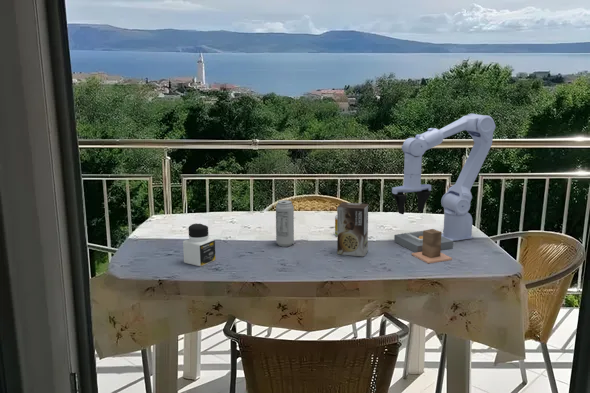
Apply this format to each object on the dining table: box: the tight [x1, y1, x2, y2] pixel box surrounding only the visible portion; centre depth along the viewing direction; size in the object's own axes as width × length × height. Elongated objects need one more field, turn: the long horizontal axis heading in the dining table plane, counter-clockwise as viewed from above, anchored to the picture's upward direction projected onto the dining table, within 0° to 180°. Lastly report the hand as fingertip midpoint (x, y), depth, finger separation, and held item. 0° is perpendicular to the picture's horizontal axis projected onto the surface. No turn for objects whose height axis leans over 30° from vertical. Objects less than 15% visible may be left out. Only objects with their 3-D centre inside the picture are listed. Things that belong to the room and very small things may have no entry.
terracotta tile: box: [411, 252, 453, 264], centre depth 181 cm, size 9×9×1 cm
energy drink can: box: [275, 199, 295, 248], centre depth 194 cm, size 6×6×15 cm
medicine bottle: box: [182, 222, 216, 267], centre depth 177 cm, size 7×7×12 cm
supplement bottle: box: [334, 214, 337, 237], centre depth 205 cm, size 5×5×10 cm
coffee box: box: [336, 202, 369, 257], centre depth 184 cm, size 9×6×16 cm
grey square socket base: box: [393, 230, 454, 253], centre depth 194 cm, size 14×14×4 cm
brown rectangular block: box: [422, 228, 443, 258], centre depth 181 cm, size 4×4×8 cm
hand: (410, 212), depth 196 cm, fingers open, 7 cm apart
